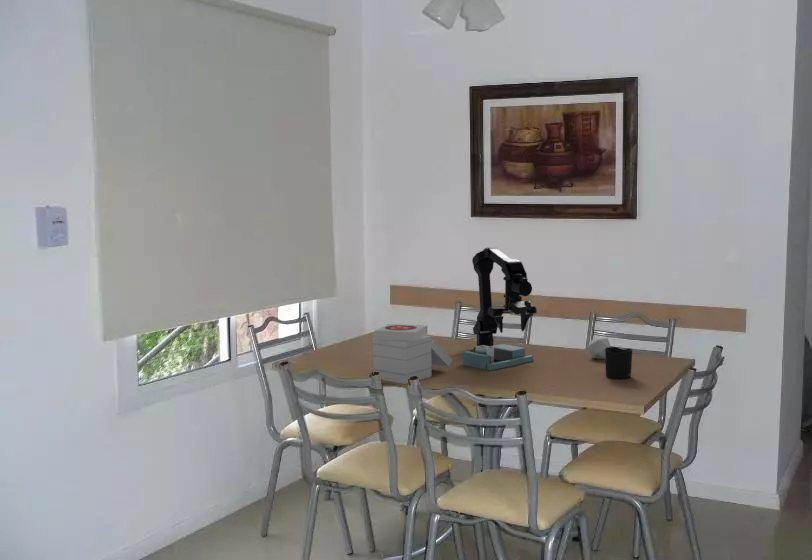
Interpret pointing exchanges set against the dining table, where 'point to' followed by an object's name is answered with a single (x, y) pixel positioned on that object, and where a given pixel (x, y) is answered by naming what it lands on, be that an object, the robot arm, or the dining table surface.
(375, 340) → the pizza boxes
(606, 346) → the die
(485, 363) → the vise body
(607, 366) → the pen holder
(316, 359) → the dining table surface
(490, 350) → the steel block
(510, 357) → the block
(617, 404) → the dining table surface
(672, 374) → the dining table surface
